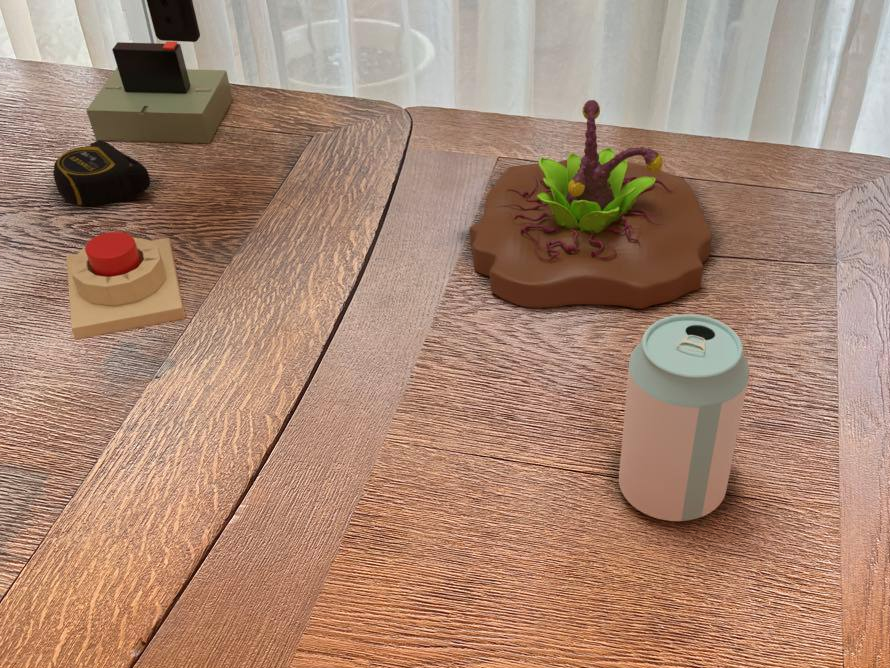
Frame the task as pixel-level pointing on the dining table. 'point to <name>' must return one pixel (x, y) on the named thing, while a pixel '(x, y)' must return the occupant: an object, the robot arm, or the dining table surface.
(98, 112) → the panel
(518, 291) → the plant
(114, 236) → the button
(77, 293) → the button box
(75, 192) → the tape measure
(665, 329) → the can
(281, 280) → the dining table surface
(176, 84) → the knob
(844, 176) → the dining table surface
